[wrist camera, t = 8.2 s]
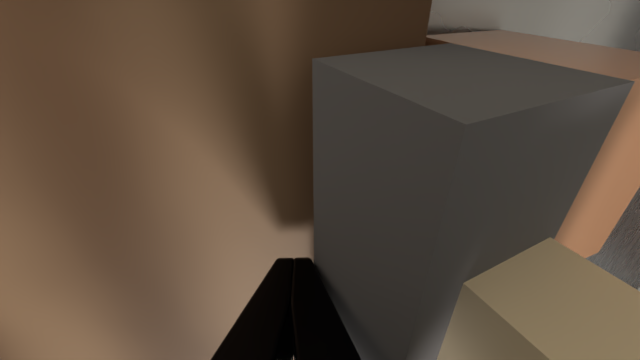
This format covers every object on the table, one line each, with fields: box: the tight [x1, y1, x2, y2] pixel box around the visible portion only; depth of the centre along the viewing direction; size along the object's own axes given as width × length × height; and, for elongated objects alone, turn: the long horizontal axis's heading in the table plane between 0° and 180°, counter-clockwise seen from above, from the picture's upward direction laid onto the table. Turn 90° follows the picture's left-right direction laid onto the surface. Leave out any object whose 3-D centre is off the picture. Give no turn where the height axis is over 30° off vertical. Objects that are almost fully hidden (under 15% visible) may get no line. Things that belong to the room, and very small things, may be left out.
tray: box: [427, 0, 640, 291], centre depth 10 cm, size 8×17×3 cm, turn 0°
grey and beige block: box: [312, 43, 640, 360], centre depth 7 cm, size 3×10×5 cm, turn 179°
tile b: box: [425, 30, 640, 258], centre depth 7 cm, size 4×4×2 cm
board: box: [0, 0, 432, 360], centre depth 10 cm, size 15×12×3 cm
